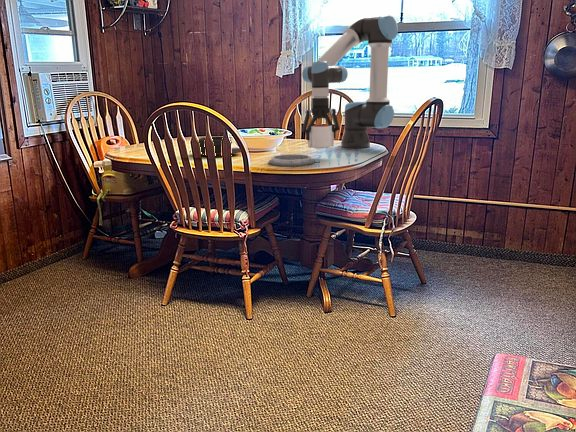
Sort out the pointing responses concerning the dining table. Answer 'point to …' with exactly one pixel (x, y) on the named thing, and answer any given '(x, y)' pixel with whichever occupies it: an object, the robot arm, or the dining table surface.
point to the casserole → (217, 145)
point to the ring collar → (291, 160)
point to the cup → (321, 136)
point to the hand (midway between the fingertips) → (320, 146)
